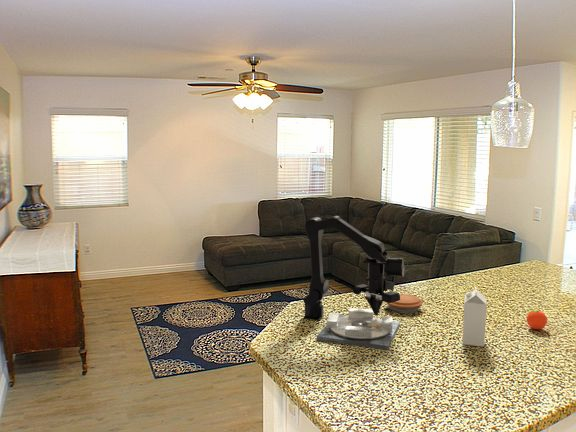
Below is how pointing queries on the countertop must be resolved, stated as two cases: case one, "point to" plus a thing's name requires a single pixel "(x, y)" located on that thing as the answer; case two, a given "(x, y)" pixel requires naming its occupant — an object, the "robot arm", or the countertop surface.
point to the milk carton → (474, 319)
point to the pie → (406, 304)
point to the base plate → (371, 343)
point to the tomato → (536, 319)
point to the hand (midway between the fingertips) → (376, 315)
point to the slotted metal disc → (359, 324)
